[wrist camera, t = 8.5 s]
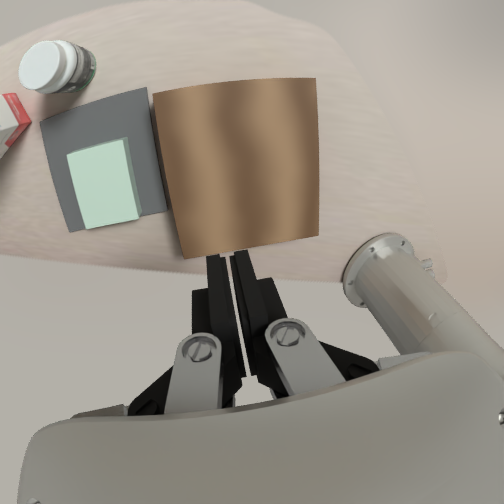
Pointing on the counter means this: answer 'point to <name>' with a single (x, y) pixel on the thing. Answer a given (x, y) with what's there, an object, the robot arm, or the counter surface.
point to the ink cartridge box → (11, 120)
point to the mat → (99, 131)
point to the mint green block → (105, 183)
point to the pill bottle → (56, 67)
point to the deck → (241, 162)
